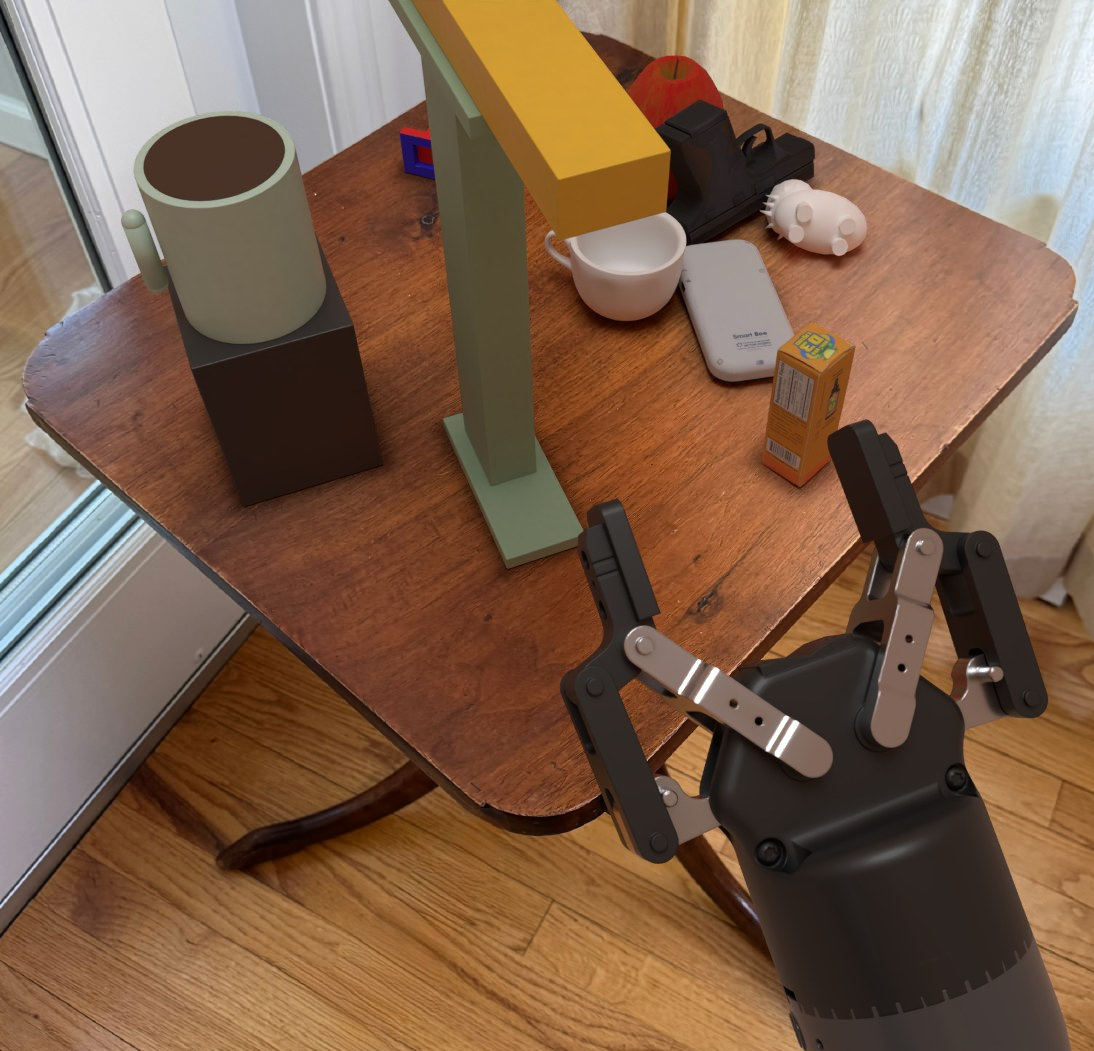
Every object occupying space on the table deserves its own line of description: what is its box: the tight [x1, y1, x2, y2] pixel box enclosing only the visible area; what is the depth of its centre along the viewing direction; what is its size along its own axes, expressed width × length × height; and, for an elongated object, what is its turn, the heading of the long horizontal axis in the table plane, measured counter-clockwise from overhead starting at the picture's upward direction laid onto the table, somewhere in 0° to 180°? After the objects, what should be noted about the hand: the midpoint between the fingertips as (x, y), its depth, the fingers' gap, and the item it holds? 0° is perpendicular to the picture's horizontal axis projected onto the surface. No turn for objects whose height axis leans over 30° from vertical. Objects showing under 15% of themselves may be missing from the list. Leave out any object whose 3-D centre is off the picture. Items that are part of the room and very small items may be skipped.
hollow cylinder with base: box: [120, 110, 384, 507], centre depth 65 cm, size 10×9×21 cm
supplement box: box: [761, 322, 856, 488], centre depth 67 cm, size 3×3×10 cm
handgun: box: [655, 100, 816, 246], centre depth 82 cm, size 3×14×10 cm, turn 128°
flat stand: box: [387, 0, 585, 570], centre depth 59 cm, size 5×12×30 cm, turn 21°
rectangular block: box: [412, 0, 671, 241], centre depth 43 cm, size 4×18×2 cm, turn 21°
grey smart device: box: [677, 238, 796, 385], centre depth 78 cm, size 6×13×2 cm, turn 10°
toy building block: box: [399, 125, 435, 180], centre depth 89 cm, size 4×4×8 cm
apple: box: [626, 54, 725, 201], centre depth 84 cm, size 8×8×11 cm
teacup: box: [543, 212, 686, 322], centre depth 79 cm, size 10×8×5 cm
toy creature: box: [760, 179, 868, 257], centre depth 83 cm, size 5×8×6 cm
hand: (726, 465), depth 36 cm, fingers open, 8 cm apart
